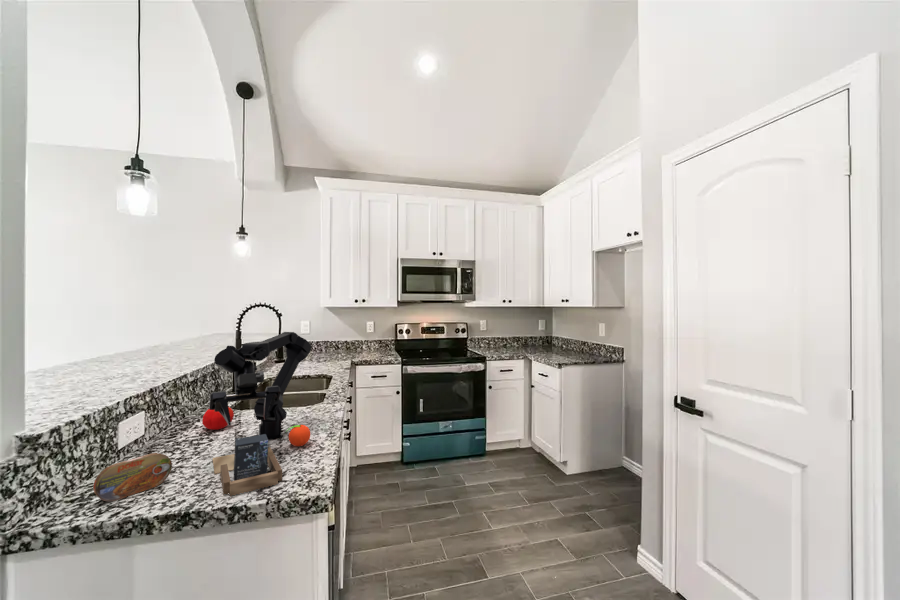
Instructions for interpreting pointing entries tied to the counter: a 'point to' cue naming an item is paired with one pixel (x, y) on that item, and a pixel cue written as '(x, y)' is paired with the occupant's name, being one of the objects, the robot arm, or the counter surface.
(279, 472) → the brown u-shaped bracket
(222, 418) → the tomato
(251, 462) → the box
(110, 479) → the tin
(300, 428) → the clementine
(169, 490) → the counter surface
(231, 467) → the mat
